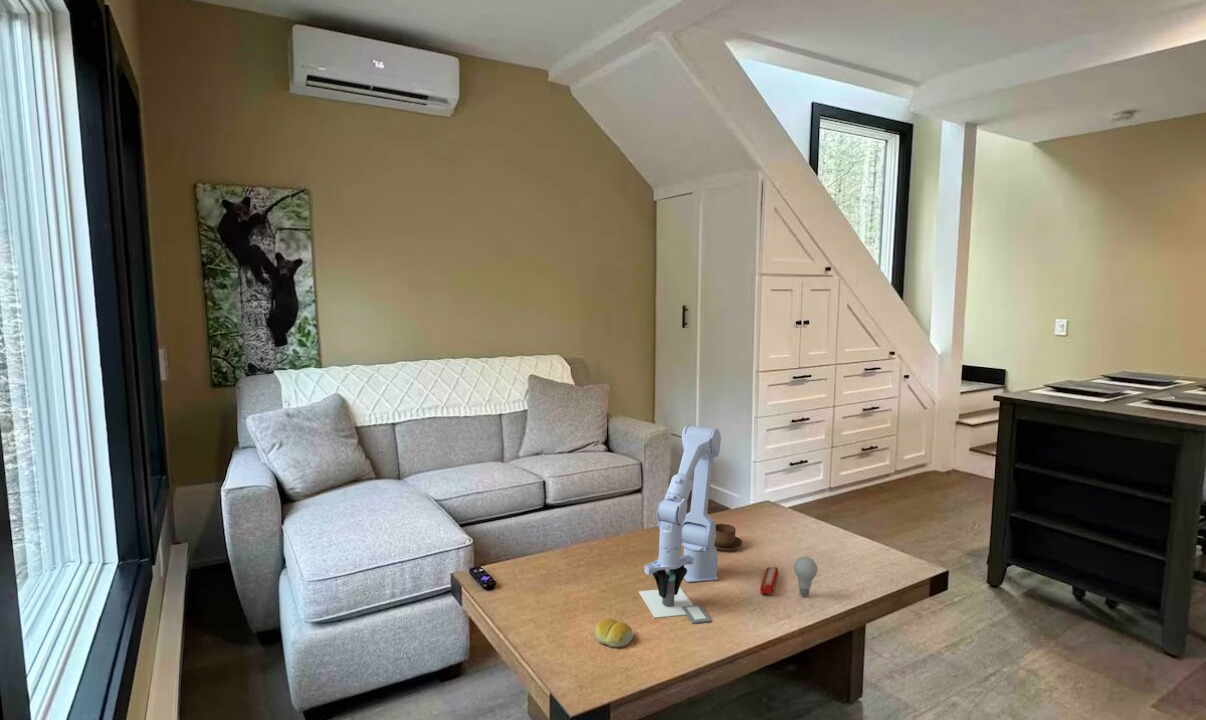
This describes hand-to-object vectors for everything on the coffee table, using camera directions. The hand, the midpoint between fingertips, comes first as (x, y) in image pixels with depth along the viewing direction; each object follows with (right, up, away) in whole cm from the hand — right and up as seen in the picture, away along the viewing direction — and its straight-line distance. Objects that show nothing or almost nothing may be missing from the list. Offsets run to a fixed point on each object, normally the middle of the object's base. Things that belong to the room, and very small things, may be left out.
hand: (668, 594), depth 167 cm
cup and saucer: (+22, +1, +40) cm, 45 cm away
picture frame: (+7, -4, -5) cm, 9 cm away
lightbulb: (+38, -3, +7) cm, 39 cm away
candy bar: (+30, -3, +14) cm, 33 cm away
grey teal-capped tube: (0, -2, 0) cm, 2 cm away
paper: (0, -3, +2) cm, 3 cm away
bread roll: (-15, -5, -16) cm, 22 cm away
